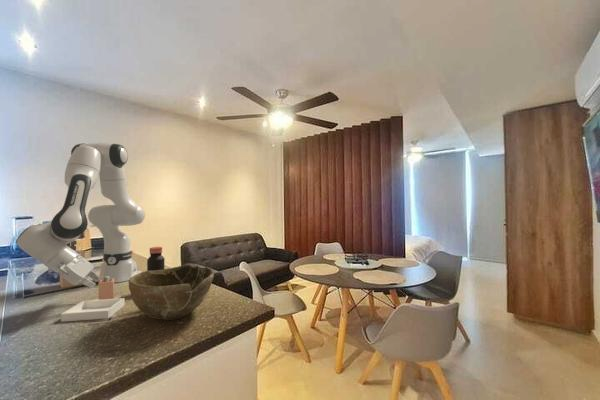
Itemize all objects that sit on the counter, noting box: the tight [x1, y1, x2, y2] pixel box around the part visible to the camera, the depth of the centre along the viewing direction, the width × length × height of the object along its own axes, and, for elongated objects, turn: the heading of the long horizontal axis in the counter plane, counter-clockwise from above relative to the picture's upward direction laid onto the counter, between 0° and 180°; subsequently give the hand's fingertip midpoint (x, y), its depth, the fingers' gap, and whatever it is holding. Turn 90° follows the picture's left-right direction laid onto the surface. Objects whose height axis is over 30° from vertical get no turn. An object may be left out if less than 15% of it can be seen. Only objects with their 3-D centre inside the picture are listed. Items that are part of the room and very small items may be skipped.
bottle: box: [146, 246, 166, 271], centre depth 119 cm, size 7×7×20 cm
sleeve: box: [98, 279, 115, 300], centre depth 107 cm, size 5×5×8 cm
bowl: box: [128, 264, 215, 321], centre depth 95 cm, size 28×27×15 cm
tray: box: [60, 297, 126, 324], centre depth 95 cm, size 12×14×4 cm
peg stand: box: [94, 276, 122, 300], centre depth 107 cm, size 9×9×10 cm
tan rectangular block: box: [59, 240, 86, 289], centre depth 131 cm, size 13×9×22 cm
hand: (96, 283), depth 105 cm, fingers open, 8 cm apart
